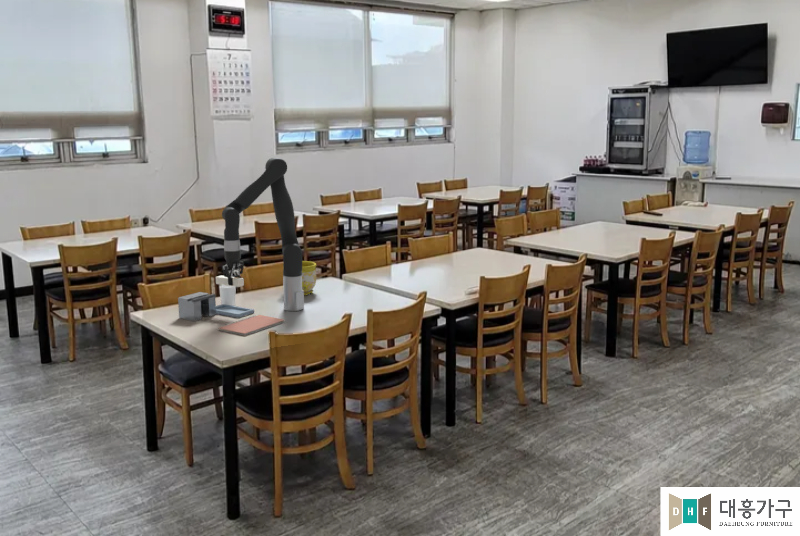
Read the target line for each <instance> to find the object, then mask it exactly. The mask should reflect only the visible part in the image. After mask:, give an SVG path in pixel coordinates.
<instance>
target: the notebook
mask: <svg viewBox="0 0 800 536" xmlns="http://www.w3.org/2000/svg"><path fill="white" fill-rule="evenodd" d="M283 322H284V323H285V319H283V318H280V317H279V318H278V317H274V316H273V317H272V316H268V315H263V314H258V315H253V316H252V315H251V316H249V317H246V318H242V319H240V320H236V321H234V322H233V321H232V322H230V323H227V324H224V325H221V326H219V327H218V331H220V332H225V333H229V334H234V335H240V336H244V335H246V336H249V335H252V334H255V333H258V332H260V330H261V331H263V330H265V329H268V327H269V328H272V327H275V326H277V324H278V325H281V324H284V323H283ZM274 325H275V326H274ZM271 326H272V327H271ZM257 331H258V332H257ZM254 332H255V333H254ZM251 333H252V334H251ZM248 334H249V335H248Z"/></svg>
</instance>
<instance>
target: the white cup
mask: <svg viewBox="0 0 800 536" xmlns="http://www.w3.org/2000/svg"><path fill="white" fill-rule="evenodd" d="M236 289H237V287H234V286H227V285H219V295H220V303H221V304H227V305H232V306H236V293H237V292H236ZM221 304H220V305H221Z"/></svg>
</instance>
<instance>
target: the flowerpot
mask: <svg viewBox="0 0 800 536" xmlns="http://www.w3.org/2000/svg"><path fill="white" fill-rule="evenodd" d="M316 267H317V263H316V262H314V261H311V260H309V261H307V260H302V290H304V295H305V296H308V295H307V294H310V293H311V294H312V293H313V292H314V288H315V286H316V283H317V272H316V270H317V269H316ZM311 294H310V295H311Z"/></svg>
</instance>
